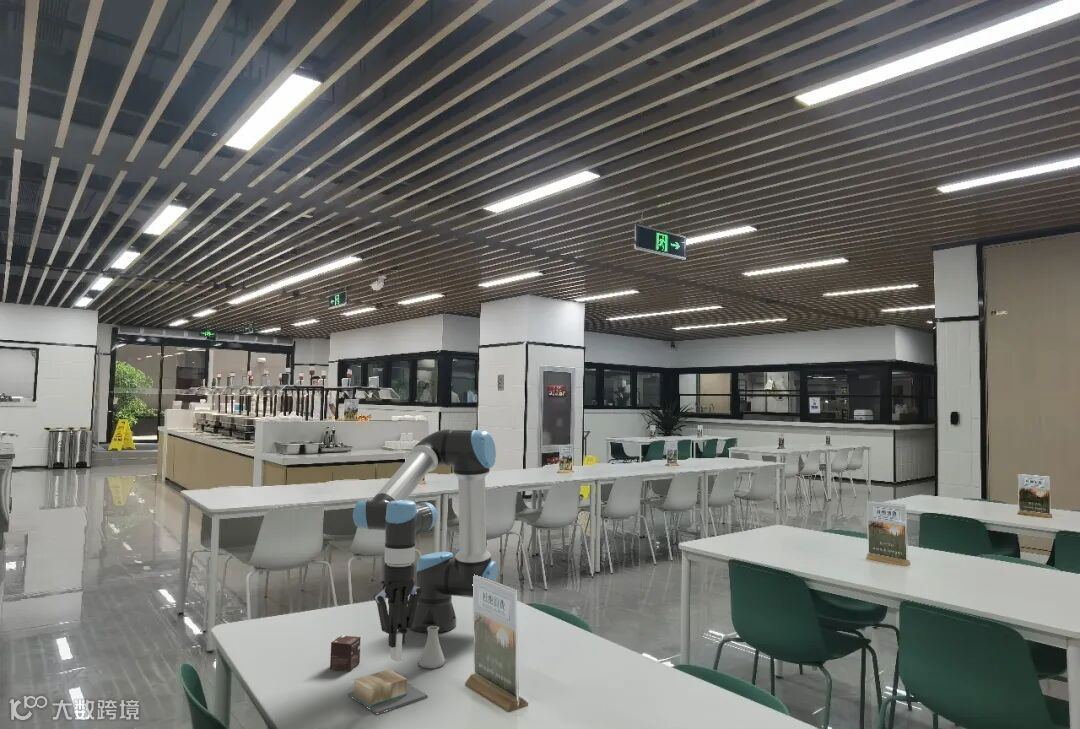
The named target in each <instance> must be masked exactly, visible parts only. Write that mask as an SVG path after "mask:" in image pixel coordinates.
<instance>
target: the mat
mask: <svg viewBox="0 0 1080 729" xmlns="http://www.w3.org/2000/svg"><path fill="white" fill-rule="evenodd" d="M353 693H354V690H351V691H348V692H347V695H348V696H349V695H350V696H351V697H350V696H349V697H350V698H352V697H353ZM428 696H429V695H428V694H427V693H426V692H424V691H421V690H420V689H418V688H416V687H415V686H413V685H411V684H409V683H408V682H407V696H404V697H400V698H397V699H394V700H391V701H388V702H385V703H382V704H379V705H376V706H373V707H368V706H367V705H365V704H364V703H362V702H361V701H359V700H358V699H356V698H355V697H353V698H354V699H353V698H352V699H353V700H355V699H356V700H357V701H356V700H355V701H356V702H358V701H359V702H360V703H359V702H358V703H359V704H361V703H362V704H363V705H362V704H361V705H362V706H364V705H365V706H366V707H365V706H364V707H365V708H367V707H368V708H370V709H371V710H372V711H371V710H370V709H369V710H370V711H371V712H373V711H374V712H375V713H374V712H373V713H374V714H376V713H380V714H382V713H381V712H383V713H385V712H384V711H386V710H389V711H391V710H390V709H392V710H394V709H393V708H395V709H397V708H396V707H398V708H400V707H399V706H401V707H403V705H404V706H406V705H409V704H412V703H416V702H418V701H421V700H425V699H427V698H428ZM368 708H367V709H368ZM386 712H387V711H386Z"/></svg>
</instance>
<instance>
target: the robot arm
mask: <svg viewBox="0 0 1080 729" xmlns="http://www.w3.org/2000/svg"><path fill="white" fill-rule="evenodd" d="M496 449H497V448H496V444H495V440H494V438H493V437H492V435H491V434H490V433H489V432H488V431H485V430H478V429H441V430H437V431H435V432H433V433H430V434H428V435H427V436H425V437H424V438H422V439H421V440H419V441H418V443H416V444H415V445H414V446H413V447H412V448H411V450H410V451H409V457H408V458H407V459H406V460H405V462H404V463H403V464H402V465H401V466H400V467H399V468H398V470H397V471H396V472H394V473H393V475H392V476H391V477H390V479H388V480H387V481H386V483H385V484H384V485H383V487H382V488H381V489H380V490H379V491H378V492H377V493H376V494H375V496H374V497H372V499H371V500H369V499H365V500H360V501H358V502H357V503H356V504H355V506H354V509H353V512H352V519H353V524H354V525H355V527H357V528H360V529H366V530H374V531H375V530H376V531H385V534H384V537H385V540H384V561H383V562H384V563H385V564H384V565H383V582H384V583H383V586H382V590H381V591H380V592H379V593H378V594H376V593H375V594H374V595H373V600H374V601H375V602H376V605H377V612H378V616H379V617H378V618H379V622H380V628H381V631H382V632H383V633H385V634H388V647H390V659H391V660H393V662H400V661H402V660H403V659H402V656H403V654H402V653H403V645H405V637H406V634H407V633H408V631H409V630H408V629H410V630H412V631H415V632H419V633H426V634H428V630H427V628H428V627H430V626H437V627H439V630H438V633H443V632H444V631H445V632H448V631H451V630H453V629H454V627H455V628H456V626H457V616H456V613H455V609H454V606H453V602H452V601H453V600H452V596H454V597H461V598H462V597H463V598H472V599H473V586H472V584H473V576H474V574H475V575H478V576H481V577H484V578H487V579H489V580H492V581H495V582H496V583H497V579H498V571H499V566H498V563H497V562H496V561H495V560H492V554H491V552H489V550H488V549H487V527H486V526H487V521H486V519H487V518H486V517H487V516H486V515H487V514H486V513H487V511H486V506H487V505H486V477H487V475H488V474H489V473H490V470H491V468H493V467H494V465H495V463H496V457H497V450H496ZM439 466H440V467H441V466H450V467H452V468H453V469H452V470H453V474H454V475H455V476H456V477H457V480H458V481H457V482H458V523H459V524H458V526H459V527H458V528H459V529H458V530H459V532H458V534H459V538H458V539H459V551H457V553H456V554H455V555H454V554H453V553H452V552H450V551H439V552H431V553H428V554H423V555H422V556H420V557H419V558H418V559H417V565H416V570H415V564H414V562H415V560H416V559H415V558H416V535H418V534H421V533H425V532H428V531H429V530H430V529H432V528H434V526H435V525H436V524H437V522H438V519H439V518H438V517H439V515H438V510H437V509H436V507H435V506H434V505H433V504H432V503H431V502H425V501H424V502H422V501H421V502H417V503H416V502H415V501H413V500H409V499H408V498H409V497H410V495H412V493H413V492H414V490H415V489H416V488H417V487H418V486H419V484H420V483H421V482H422V481H423V479H424V478H425V477H426V476H427V474H429V473H431V472H433V471H434V470H435V469H436V468H437V467H439ZM415 572H416V577H415ZM414 578H416V579H415V580H416V584H415V582H414ZM386 600H387V601H386ZM387 604H388V607H387Z"/></svg>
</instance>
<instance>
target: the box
mask: <svg viewBox="0 0 1080 729" xmlns="http://www.w3.org/2000/svg"><path fill="white" fill-rule="evenodd" d="M329 658H330V661H329V662H330V664H329V669H330V670H331V669H335V670H334V671H341V670H346V671H345V672H351V671H352V669H353V668H354V669H355V668H356V667H357V666H359V665H360V664H359V663H361V661H360V660H361V636H351V635H340V636H339V637H337V638H335V639H334V640H332V641H331V642H330V657H329ZM358 664H359V665H358ZM354 669H353V670H354Z"/></svg>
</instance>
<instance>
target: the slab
mask: <svg viewBox="0 0 1080 729" xmlns="http://www.w3.org/2000/svg"><path fill="white" fill-rule="evenodd" d="M407 683H408V679H407V678H406V677H405V676H403V675H401V674H399V673H397V672H396V671H394V670H392V669H391V668H389V669H386V670H383V671H380V672H379V671H378V672H375V673H372V674H369V675H365V676H361V677H358V678H355V679H353V691H354V693H353V697H355V698H356V699H358V700H359V701H361V702H362V703H364V704H365V705H367V706H368V707H373V706H376V705H379V704H382V703H385V702H388V701H391V700H394V699H397V698H400V697H404V696H407Z"/></svg>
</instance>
